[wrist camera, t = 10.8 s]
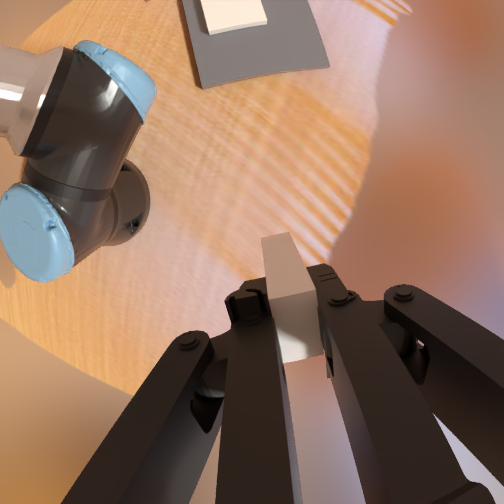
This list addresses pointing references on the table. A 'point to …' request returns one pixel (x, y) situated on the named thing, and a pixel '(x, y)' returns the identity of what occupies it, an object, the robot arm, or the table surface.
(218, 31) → the tile
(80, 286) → the table surface
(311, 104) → the table surface
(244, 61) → the slate board
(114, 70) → the robot arm
